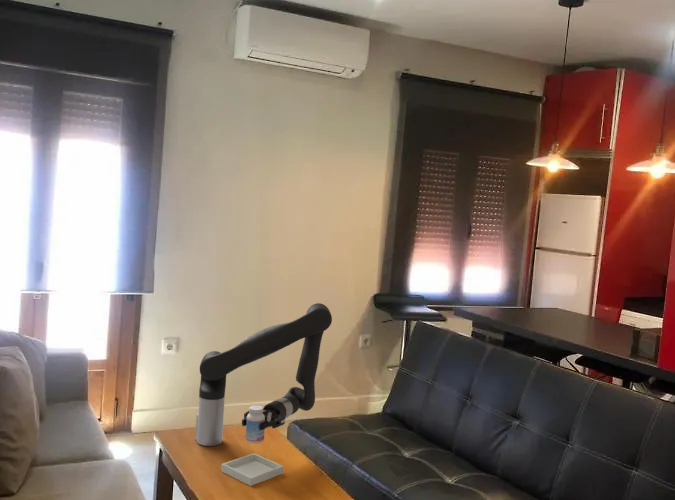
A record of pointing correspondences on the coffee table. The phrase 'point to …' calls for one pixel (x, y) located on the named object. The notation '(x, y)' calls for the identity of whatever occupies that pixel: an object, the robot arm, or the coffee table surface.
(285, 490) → the coffee table surface
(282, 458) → the coffee table surface
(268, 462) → the tray
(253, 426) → the pill bottle
